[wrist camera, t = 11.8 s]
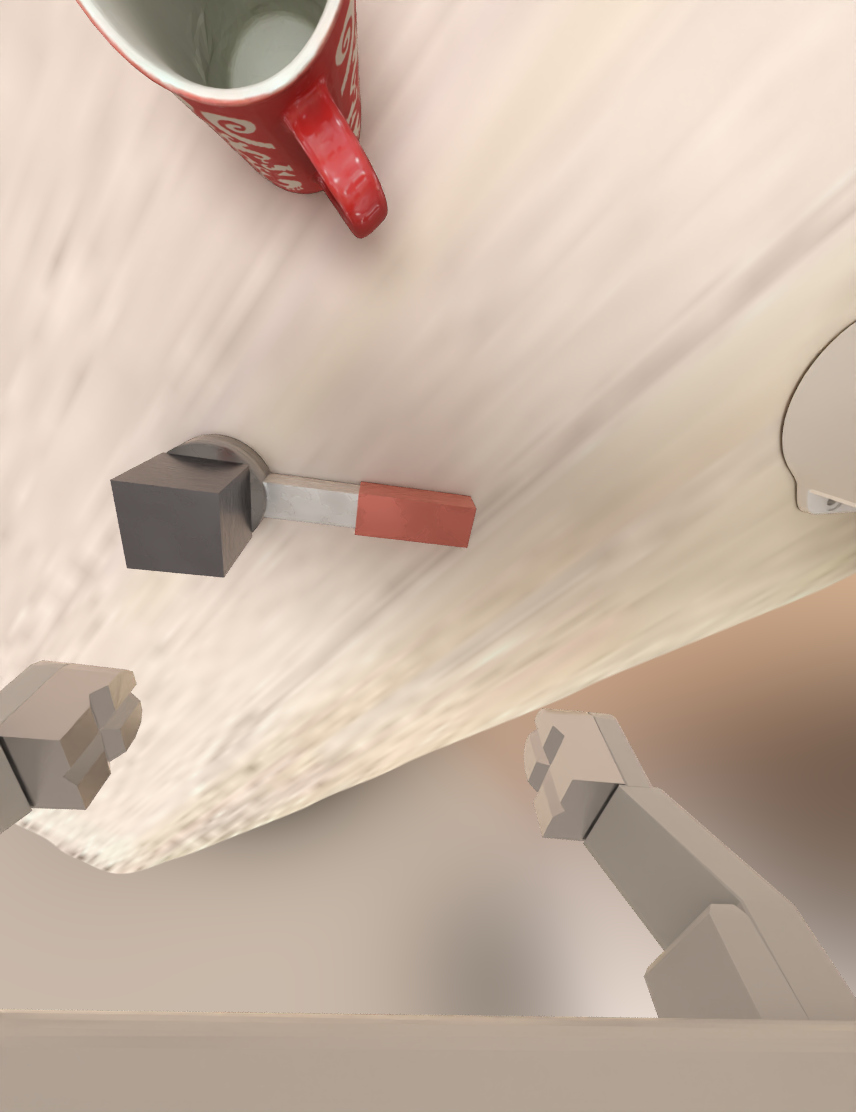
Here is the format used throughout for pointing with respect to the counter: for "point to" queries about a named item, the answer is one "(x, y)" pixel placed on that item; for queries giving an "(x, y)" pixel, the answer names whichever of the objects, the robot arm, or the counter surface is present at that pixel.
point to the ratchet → (344, 500)
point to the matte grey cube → (184, 514)
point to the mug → (262, 85)
